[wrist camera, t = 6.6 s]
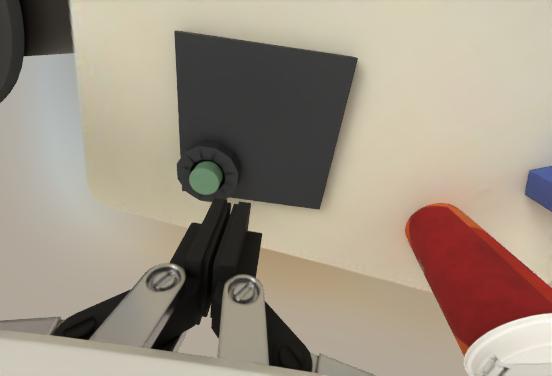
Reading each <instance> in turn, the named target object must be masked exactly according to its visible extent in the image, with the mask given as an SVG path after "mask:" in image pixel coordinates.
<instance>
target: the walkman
mask: <svg viewBox="0 0 552 376" xmlns="http://www.w3.org/2000/svg"><path fill="white" fill-rule="evenodd" d="M525 195H527V196H528V197H530V198H531V199H533V200H535V201H536V202H538V203H539V204H541V205H542V206H544V207H545V208H547V209H548V210H550V211H551V212H552V166H550V167H545V168H540V169H535V170H530V172H529V177H528V182H527V188H526V193H525Z"/></svg>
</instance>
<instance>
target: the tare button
mask: <svg viewBox="0 0 552 376" xmlns="http://www.w3.org/2000/svg"><path fill="white" fill-rule="evenodd" d="M222 178H223V173H222V170H221V169H220V167H219V166H218V165H217V164H215V163H213V162H210V161H203V162H200V163H199V164H198V165H197V166H196V167H195V168H194V170H193V171H192V172H191V174H190V176H189V182H190V185H191V187H192V188H193V189H194V190H195V191H196V192H198V193H200V194H204V195H209V194H212V193H214V192H215V191H216V190H217V189H218V187H219V185H220V183H221V181H222Z"/></svg>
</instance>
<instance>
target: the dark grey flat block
mask: <svg viewBox="0 0 552 376" xmlns="http://www.w3.org/2000/svg"><path fill="white" fill-rule="evenodd" d="M175 50H176V71H177V91H178V112H179V133H180V153H181V158H180V160H179V162H178V163H177V175H178V180H179V181H180V183H181V184H182V191H186V192H187V193H189V194H191V195H192V196H194V197H195V198H197V199H199V200H201V201H209V202H213V200H214V198H221V199H226V198H228V197H231V198H239V199H246V200H253V201H261V202H268V203H276V204H283V205H290V206H298V207H305V208H312V209H320V206H321V202H322V198H323V194H324V190H325V186H326V182H327V178H328V174H329V170H330V167H331V163H332V159H333V155H334V151H335V147H336V143H337V139H338V135H339V131H340V127H341V123H342V119H343V115H344V111H345V107H346V103H347V99H348V95H349V92H350V88H351V84H352V80H353V76H354V72H355V68H356V64H357V60H358V58H356V57H351V56H344V55H338V54H331V53H324V52H318V51H311V50H304V49H297V48H291V47H284V46H277V45H271V44H264V43H257V42H250V41H244V40H237V39H230V38H224V37H217V36H210V35H203V34H197V33H190V32H183V31H175ZM203 161H210V162H213V163H215V164H217V165H218V166H219V167H220V169H221V170H222V173H223V178H222V181H221V183H220V185H219V187H218V189H217V190H216V191H215V192H214V193H212V194H209V195H204V194H200V193H198V192H196V191H195V190H194V189H193V188H192V187H191V185H190V182H189V176H190V174H191V172H192V171H193V170H194V168H195V167H196V166H197V165H198V164H199V163H200V162H203Z"/></svg>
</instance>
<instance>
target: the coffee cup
mask: <svg viewBox="0 0 552 376" xmlns="http://www.w3.org/2000/svg"><path fill="white" fill-rule="evenodd" d="M406 236H407V238H408V241H409V243H410V245H411V248H412V250H413V252H414V254H415V256H416V258H417V260H418V262H419V264H420V267H421V269H422V271H423V273H424V275H425V277H426V279H427V281H428V283H429V285H430V287H431V289H432V291H433V293H434V295H435V297H436V299H437V302H438V303H439V306H440V308H441V309H442V312H443V314H444V316H445V318H446V320H447V322H448V324H449V326H450V328H451V330H452V332H453V334H454V336H455V338H456V340H457V342H458V344H459V347H460V349H461V350H462V353H463V355H464V368H465V370H466V372H467V373H468V375H469V376H552V288H551V287H550V286H549V285H547V284H546V283H545V282H544V281H543V280H542V279H540V278H539V277H538V276H537V275H536V274H535V273H533V272H532V271H531V270H530V269H529V268H528V267H526V266H525V265H524V264H523V263H522V262H521V261H520V260H518V259H517V258H516V257H515V256H514V255H513V254H511V253H510V252H509V251H508V250H507V249H505V248H504V247H503V246H502V245H501V244H500V243H498V242H497V241H496V240H495V239H494V238H493V237H491V236H490V235H489V234H488V233H487V232H486V231H484V230H483V229H482V228H481V227H480V226H478V225H477V224H476V223H475V222H474V221H473V220H471V219H470V218H469V217H468V216H466V215H465V214H464V213H463V212H461V211H460V210H459V209H457V208H456V207H454V206H452V205H449V204H443V203H439V204H432V205H428V206H426V207H423V208H422V209H420V210H418V211H417V212H416V213H414V214H413V215H412V216H411V218H410V219H409V220H408V222H407V225H406Z"/></svg>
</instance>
